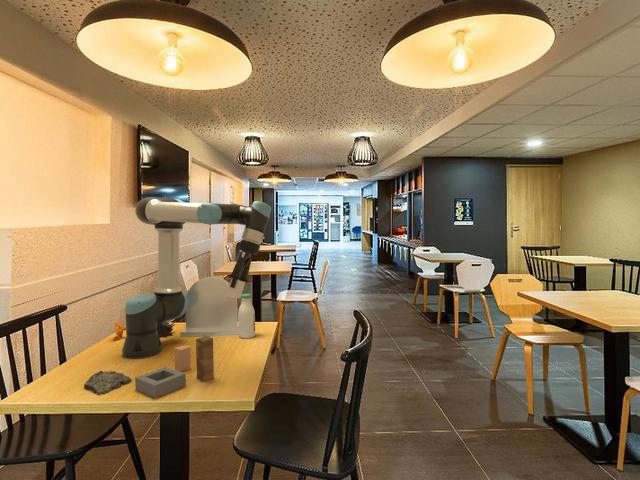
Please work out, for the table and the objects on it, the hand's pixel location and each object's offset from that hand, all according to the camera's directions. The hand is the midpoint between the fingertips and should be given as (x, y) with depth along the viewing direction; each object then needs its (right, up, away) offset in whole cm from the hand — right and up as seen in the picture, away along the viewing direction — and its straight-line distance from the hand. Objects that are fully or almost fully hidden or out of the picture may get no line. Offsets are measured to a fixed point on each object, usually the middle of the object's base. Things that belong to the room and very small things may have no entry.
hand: (233, 297), depth 141 cm
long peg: (-8, -27, -8) cm, 29 cm away
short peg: (-19, -27, +1) cm, 33 cm away
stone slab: (-41, -28, -11) cm, 51 cm away
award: (-21, -25, +47) cm, 57 cm away
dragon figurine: (-51, -25, +43) cm, 71 cm away
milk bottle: (-3, -25, +41) cm, 48 cm away
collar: (-20, -27, -15) cm, 37 cm away
